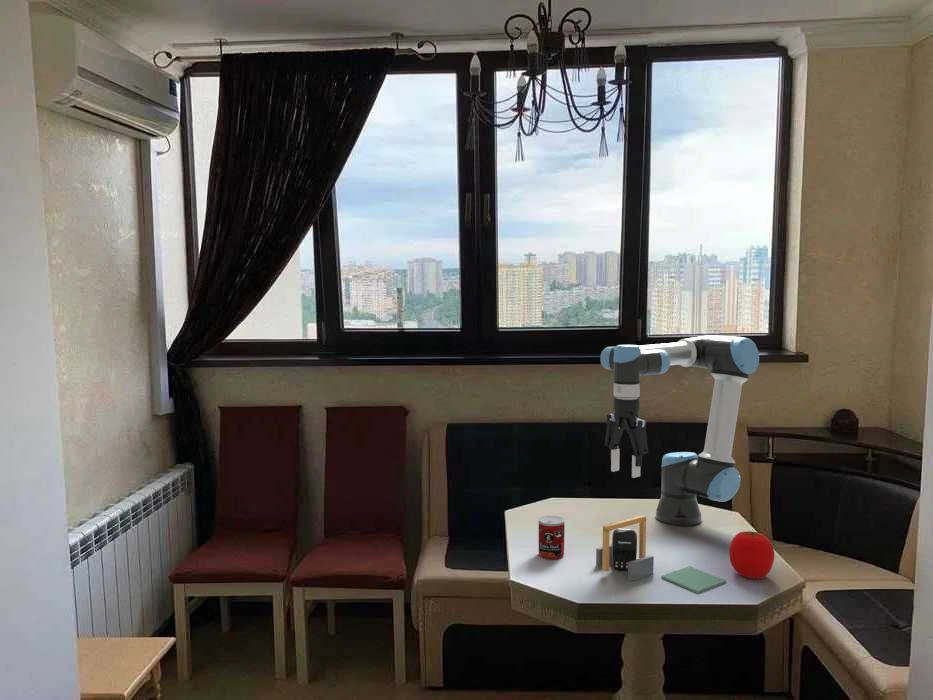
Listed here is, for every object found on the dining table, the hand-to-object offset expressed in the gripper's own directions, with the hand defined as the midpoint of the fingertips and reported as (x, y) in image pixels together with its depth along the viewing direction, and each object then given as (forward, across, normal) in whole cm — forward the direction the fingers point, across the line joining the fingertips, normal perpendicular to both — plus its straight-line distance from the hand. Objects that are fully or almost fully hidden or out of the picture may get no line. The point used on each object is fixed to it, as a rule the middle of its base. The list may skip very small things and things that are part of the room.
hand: (625, 473), depth 204 cm
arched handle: (+24, +7, -7) cm, 26 cm away
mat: (+25, +23, +2) cm, 34 cm away
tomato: (+25, +30, +18) cm, 43 cm away
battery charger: (+25, +7, -8) cm, 27 cm away
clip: (+25, +7, -8) cm, 27 cm away
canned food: (+25, -13, -18) cm, 33 cm away
